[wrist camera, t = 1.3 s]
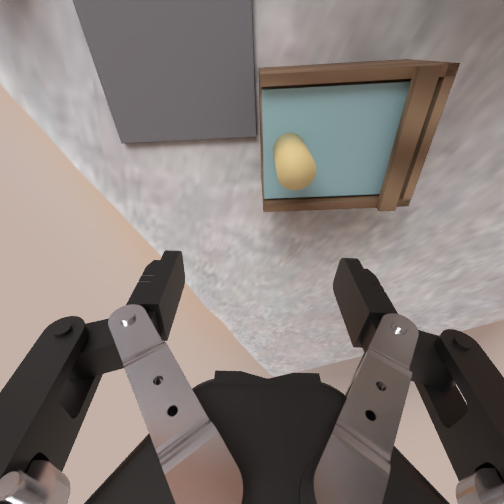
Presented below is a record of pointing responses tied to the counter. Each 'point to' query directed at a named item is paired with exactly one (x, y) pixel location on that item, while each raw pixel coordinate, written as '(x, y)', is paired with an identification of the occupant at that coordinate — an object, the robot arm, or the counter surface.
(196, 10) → the mat
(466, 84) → the counter surface
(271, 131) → the thin pale-blue panel
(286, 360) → the counter surface
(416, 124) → the box
